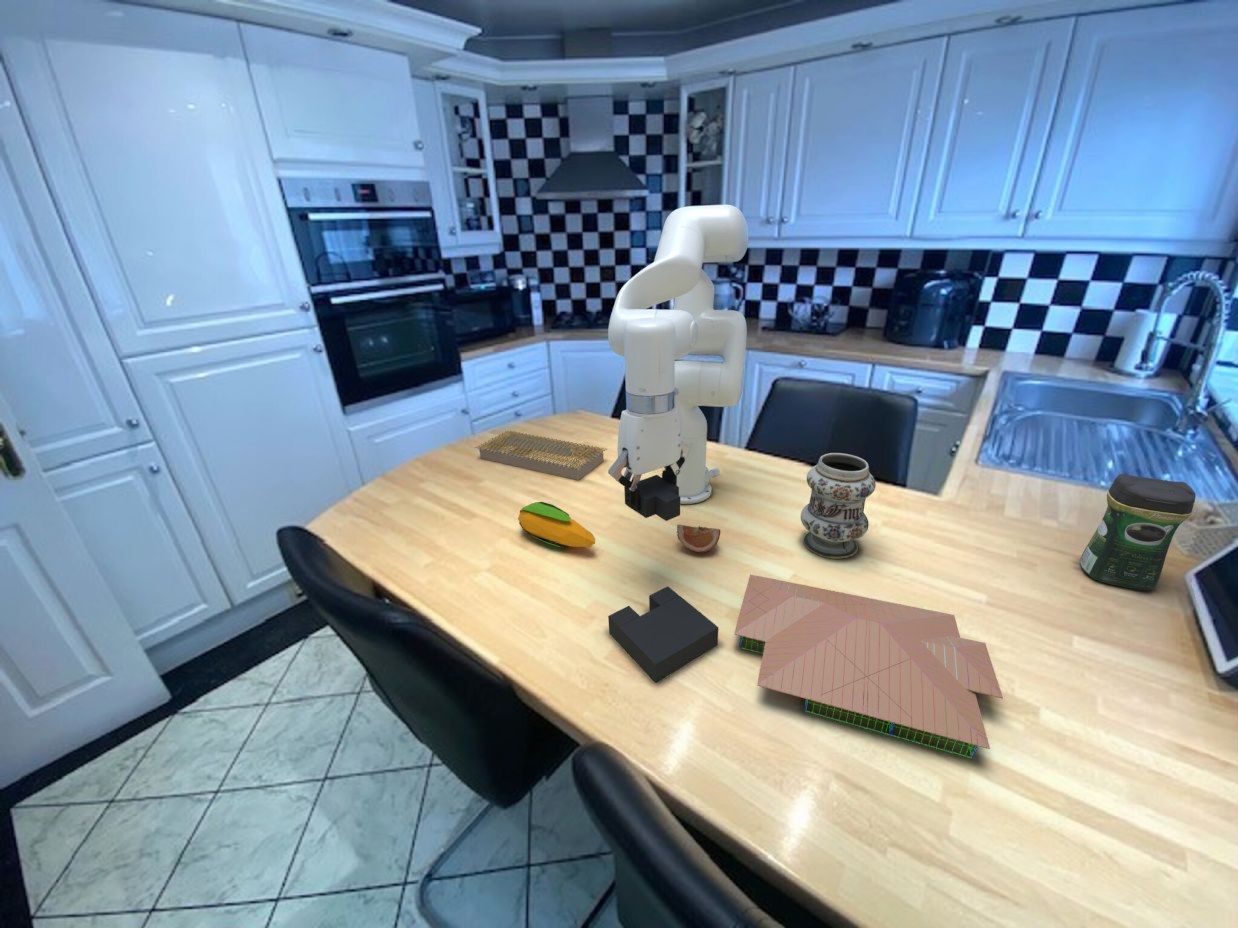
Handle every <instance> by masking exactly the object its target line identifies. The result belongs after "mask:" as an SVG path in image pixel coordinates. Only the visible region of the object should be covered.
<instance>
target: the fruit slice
mask: <svg viewBox="0 0 1238 928" xmlns="http://www.w3.org/2000/svg"><path fill="white" fill-rule="evenodd" d="M676 536H677V539H678V541H679V542H680V543H681V544H682V546H684V547H685V548H687V549H688V550H690V551H692V552H696V553H707V552H709V551H711V550H712V549H714V548H715V547H716V545H717V544H718V542H719V540H720V536H721V529H720V528H713V527H706V526H690V525H685V524H676Z"/></svg>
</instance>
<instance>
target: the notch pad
mask: <svg viewBox="0 0 1238 928" xmlns="http://www.w3.org/2000/svg"><path fill="white" fill-rule="evenodd" d="M648 605H649V606H648V608H649V610H648V611H647V612H645V613H643V614H641V615H640V614H639V613H637V612H636V611H635V610H634V609H633V608H632V606H630V605H627V606H625V607H623V608H621V609H619V610H617V611H615V612H613V613H611V614H610V615H607V617H608V619H607V620H608V633H609V634H610V636H611V637H613V639H614V640H615V641H616V642H617V643H618V644H619V645H620V646H621V647H622V648H623V649H624V650H625V652H627V654H628V655H629V656H630V657H631V658H632V659H633V660H634V661H635V662H636V663H637V664H638V665H639V667H640V668H641V669H642V670H643V671H644V672H645V673H646V675H648V676H649V677H650V678H651V679H652V680H653V682H654V683H658V682H659V681H661V680H662V679H664V678H666V677H667V676H669V675H671V674H672V673H674V672H676V671H678V670H679V669H680V668H683V667H684V666H685V665H687V664H688V663H690V662H692V661H693V660H695V659H697V658H698V657H700V656H701V655H703V654H705V653H706V652H708V651H710V650H712V649H713V648H715V647H716V646H718V644H719V626H718V625H716V624H715V623H714V622H713V621H712V620H711V619H709V618H708V617H707V616H705V615H704V614H703V613H702V612H701V611H699V610H698V609H697V608H696V607H694V606H693V605H692V604H690V602H688V601H687V600H686V599H684V598H683V597H682V596H681V595H680V594H678V593H677V592H676V591H674V590H673V589H672V588H671V587H670V586H668V585H667V586H665V587H662V588H660V589H659V590H657V591H655V592H653V593H651V594H649V596H648Z"/></svg>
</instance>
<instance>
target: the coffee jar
mask: <svg viewBox="0 0 1238 928" xmlns="http://www.w3.org/2000/svg"><path fill="white" fill-rule="evenodd" d="M1195 502H1196V492H1195V491H1194V489H1193V488H1192V487H1191V486H1190V485H1189V484H1188V483H1187V482H1185V481H1173V480H1167V479H1166V480H1165V479H1158V478H1152V477H1144V476H1135V475H1130V474H1126V473H1125V474H1124V473H1119V474H1118V475H1117V476H1116V478H1114V480H1113V483H1112V484H1111V485H1110V487H1109V488H1108V490H1107V493H1106V503H1107V506H1106V510H1105V512H1104V514H1103V517H1102V520H1101V521H1100V523H1099V525H1098V526H1097V528H1096V530H1095V532H1094V533H1093V534H1092V536H1091V538H1090V539H1089V542H1088V543H1087V545H1086V546H1085V549H1084V550H1083V552H1082V554H1081V556H1080V559H1079V564H1080V567H1081V570H1082V571H1083V572H1085V574H1086V575H1088V576H1089V577H1090V578H1092V579H1094V580H1096V581H1099V582H1101V583H1105V584H1109V585H1113V586H1117V587H1122V588H1128V589H1132V590H1133V589H1134V590H1141V591H1149V590H1152V589H1155V588H1156V587H1157V586H1158V583H1159V580H1160V579H1161V575H1162V572H1163V569H1164V565H1165V562H1166V558H1167V555H1168V551H1169V548H1170V545H1171V544H1172V543H1171V542H1172V539H1173V537H1174V535H1175V534H1176V531H1177V529H1179V526H1180V525H1181V524H1182V523H1183V522H1185V521H1186V520H1187V519H1188V518H1190V516H1191V514H1192V513H1193V509H1194V506H1195Z"/></svg>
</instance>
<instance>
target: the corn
mask: <svg viewBox="0 0 1238 928" xmlns="http://www.w3.org/2000/svg"><path fill="white" fill-rule="evenodd" d="M517 519H518V523H519V526H520V528H521V529H522V530H523V531H524V532H525V533H527V534H528V535H530V536H532V537H533V538H535V539H536V540H538V541H541V542H544V543H545V544H548V545H551V546H554V547H558V548H562V549H565V546H569V547H572V548H584V547H586V548H588V547H592V546H594V545H596V538H595V536H594V534H593V533H592V532H590V531H589V530H588V529H587V528H585V527H584V526H582V525H581V524H580V523H579V522H578V521H576V520H575V519H572V517H570V514H569V513H568V512H566V511H565V510H563V509H561V508H559V507H558V506H556V505H554V504H551V503H547V502H544V501H536V502H532V503H529V504H527V505H525V506H523V507H522V508H521V509H520V510H519V514H518V517H517Z"/></svg>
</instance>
